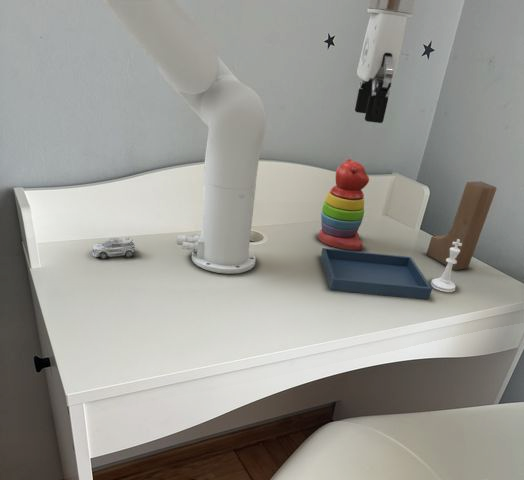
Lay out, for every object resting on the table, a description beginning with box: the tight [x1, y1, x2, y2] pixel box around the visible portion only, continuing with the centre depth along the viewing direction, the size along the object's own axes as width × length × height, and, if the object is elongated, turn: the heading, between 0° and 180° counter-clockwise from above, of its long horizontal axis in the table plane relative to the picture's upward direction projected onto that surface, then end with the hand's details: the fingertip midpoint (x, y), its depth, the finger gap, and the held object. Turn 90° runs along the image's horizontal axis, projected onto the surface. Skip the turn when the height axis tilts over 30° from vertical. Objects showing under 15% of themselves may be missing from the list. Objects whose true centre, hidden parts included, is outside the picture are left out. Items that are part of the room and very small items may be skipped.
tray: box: [320, 247, 433, 300], centre depth 104 cm, size 19×15×2 cm
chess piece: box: [429, 239, 462, 293], centre depth 102 cm, size 5×5×10 cm
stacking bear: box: [317, 158, 370, 252], centre depth 115 cm, size 11×10×18 cm
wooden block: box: [426, 181, 497, 271], centre depth 112 cm, size 9×4×18 cm, turn 29°
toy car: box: [91, 237, 136, 260], centre depth 98 cm, size 4×8×3 cm, turn 114°
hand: (367, 117), depth 94 cm, fingers open, 9 cm apart
